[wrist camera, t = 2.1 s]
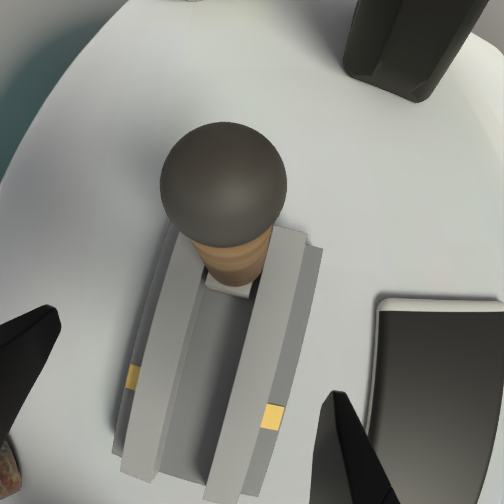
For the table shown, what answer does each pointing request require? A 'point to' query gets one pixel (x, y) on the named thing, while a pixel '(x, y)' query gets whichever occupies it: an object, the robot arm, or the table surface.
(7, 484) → the candle
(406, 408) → the smartphone
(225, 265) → the lever
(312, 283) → the slider console
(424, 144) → the table surface
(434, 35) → the black machined bracket
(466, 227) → the table surface
